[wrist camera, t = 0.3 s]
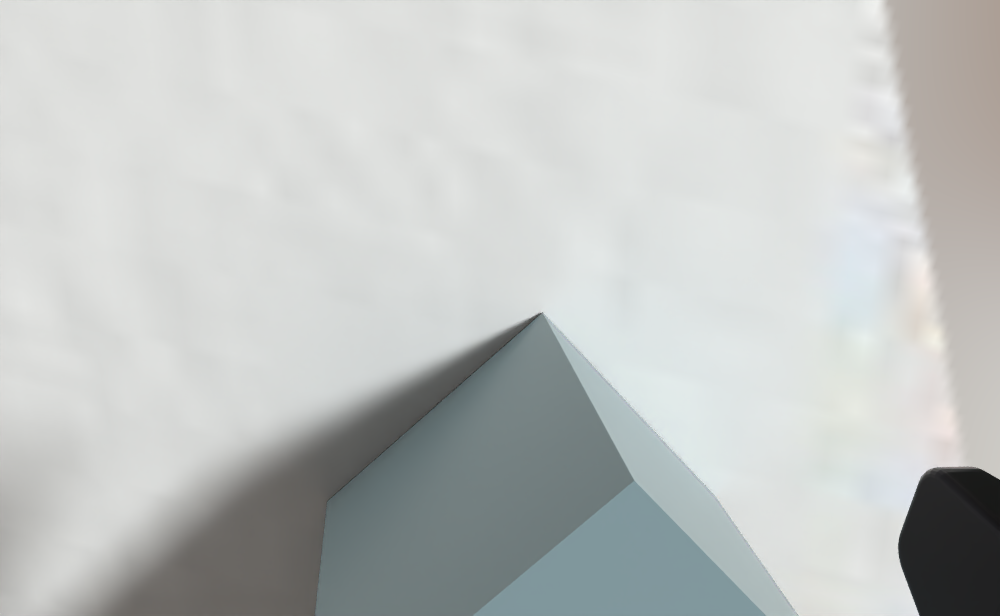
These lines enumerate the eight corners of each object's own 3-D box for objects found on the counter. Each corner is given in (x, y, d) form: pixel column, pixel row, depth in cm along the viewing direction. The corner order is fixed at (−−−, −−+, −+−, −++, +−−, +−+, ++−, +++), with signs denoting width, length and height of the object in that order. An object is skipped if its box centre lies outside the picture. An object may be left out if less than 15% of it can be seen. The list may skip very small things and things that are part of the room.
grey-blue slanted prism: (514, 663, 26) (576, 961, 18) (327, 501, 24) (299, 761, 16) (715, 497, 25) (878, 731, 17) (542, 312, 23) (634, 480, 15)
